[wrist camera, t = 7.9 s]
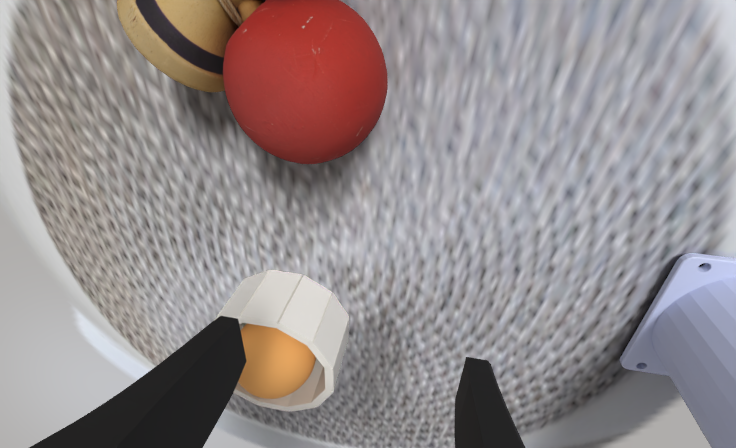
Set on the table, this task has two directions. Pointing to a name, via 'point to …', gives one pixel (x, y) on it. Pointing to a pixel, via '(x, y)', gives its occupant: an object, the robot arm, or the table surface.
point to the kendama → (271, 67)
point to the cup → (295, 329)
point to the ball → (274, 362)
